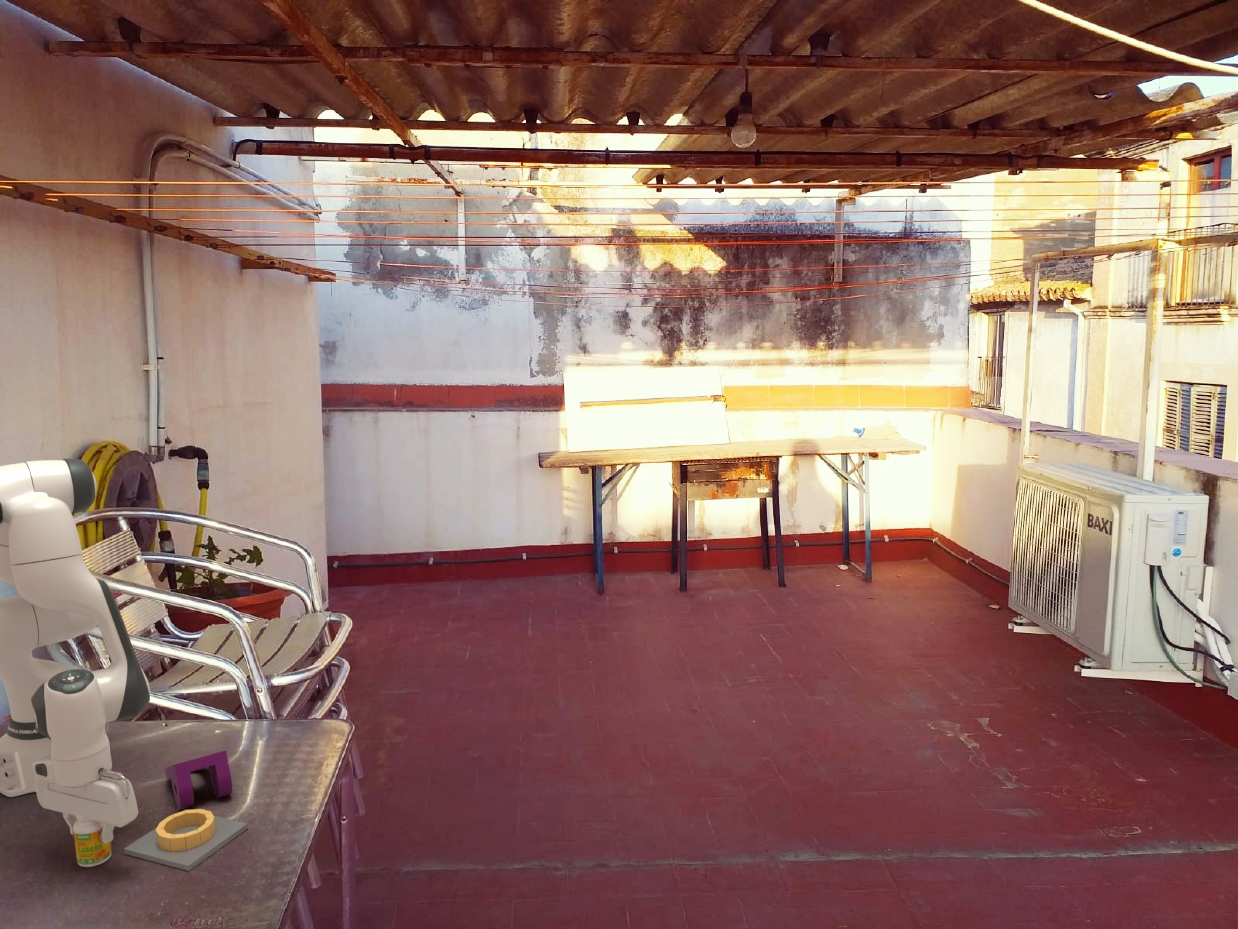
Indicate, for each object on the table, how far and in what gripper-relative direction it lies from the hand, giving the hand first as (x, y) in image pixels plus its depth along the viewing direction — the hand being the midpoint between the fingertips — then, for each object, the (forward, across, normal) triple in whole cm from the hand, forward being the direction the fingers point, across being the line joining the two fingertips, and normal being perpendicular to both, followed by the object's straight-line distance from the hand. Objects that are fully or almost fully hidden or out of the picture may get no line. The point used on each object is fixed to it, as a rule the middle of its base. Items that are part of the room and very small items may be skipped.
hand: (92, 837), depth 168 cm
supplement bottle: (+4, 0, 0) cm, 4 cm away
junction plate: (+4, -11, -10) cm, 15 cm away
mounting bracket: (+5, +2, -25) cm, 26 cm away
